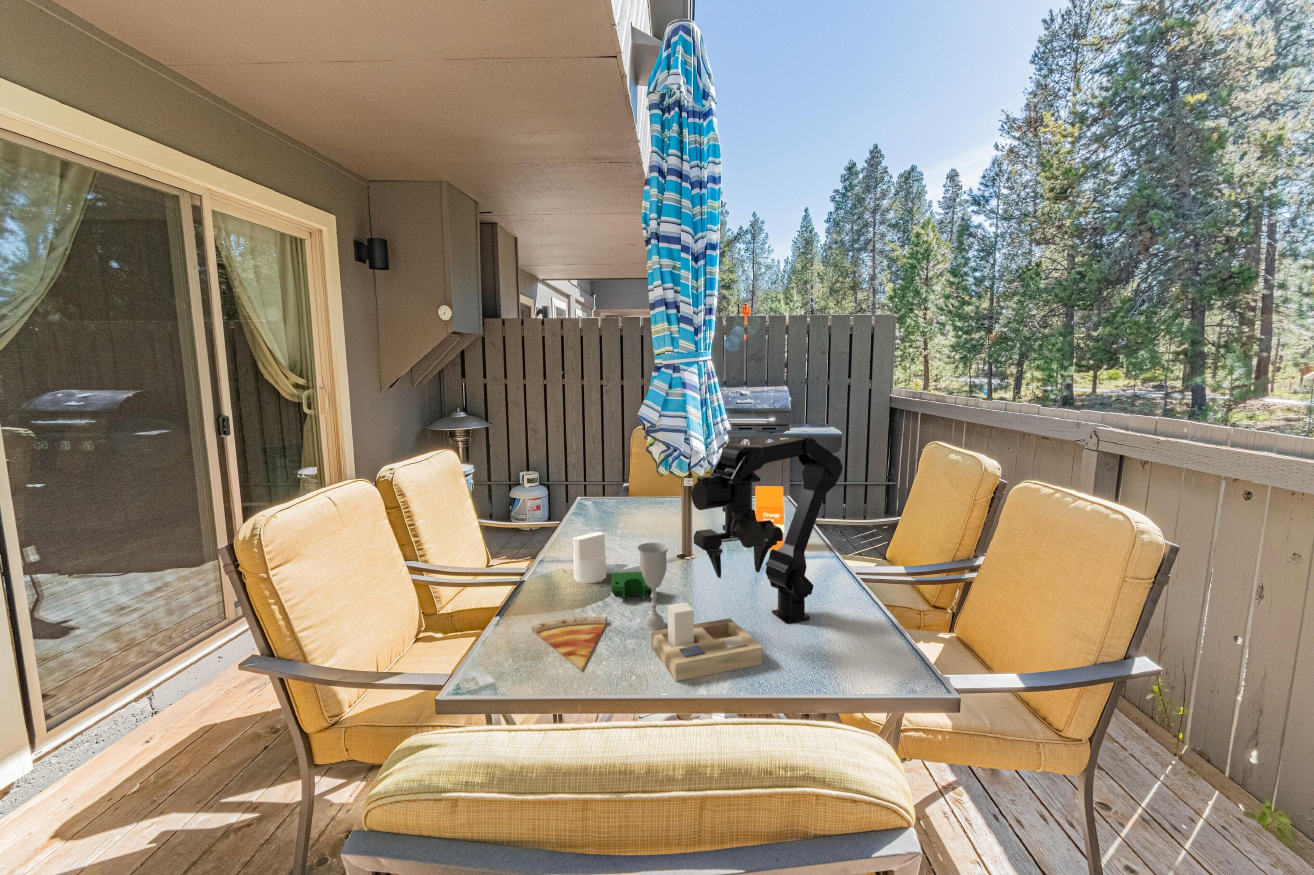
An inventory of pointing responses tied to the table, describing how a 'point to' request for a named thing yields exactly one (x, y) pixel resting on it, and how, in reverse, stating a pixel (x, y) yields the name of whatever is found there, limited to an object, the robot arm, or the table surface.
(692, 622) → the plug
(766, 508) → the orange juice
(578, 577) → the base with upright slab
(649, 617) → the chalice
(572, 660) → the pizza slice
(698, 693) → the table surface
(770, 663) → the table surface
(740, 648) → the socket board
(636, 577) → the clamp
